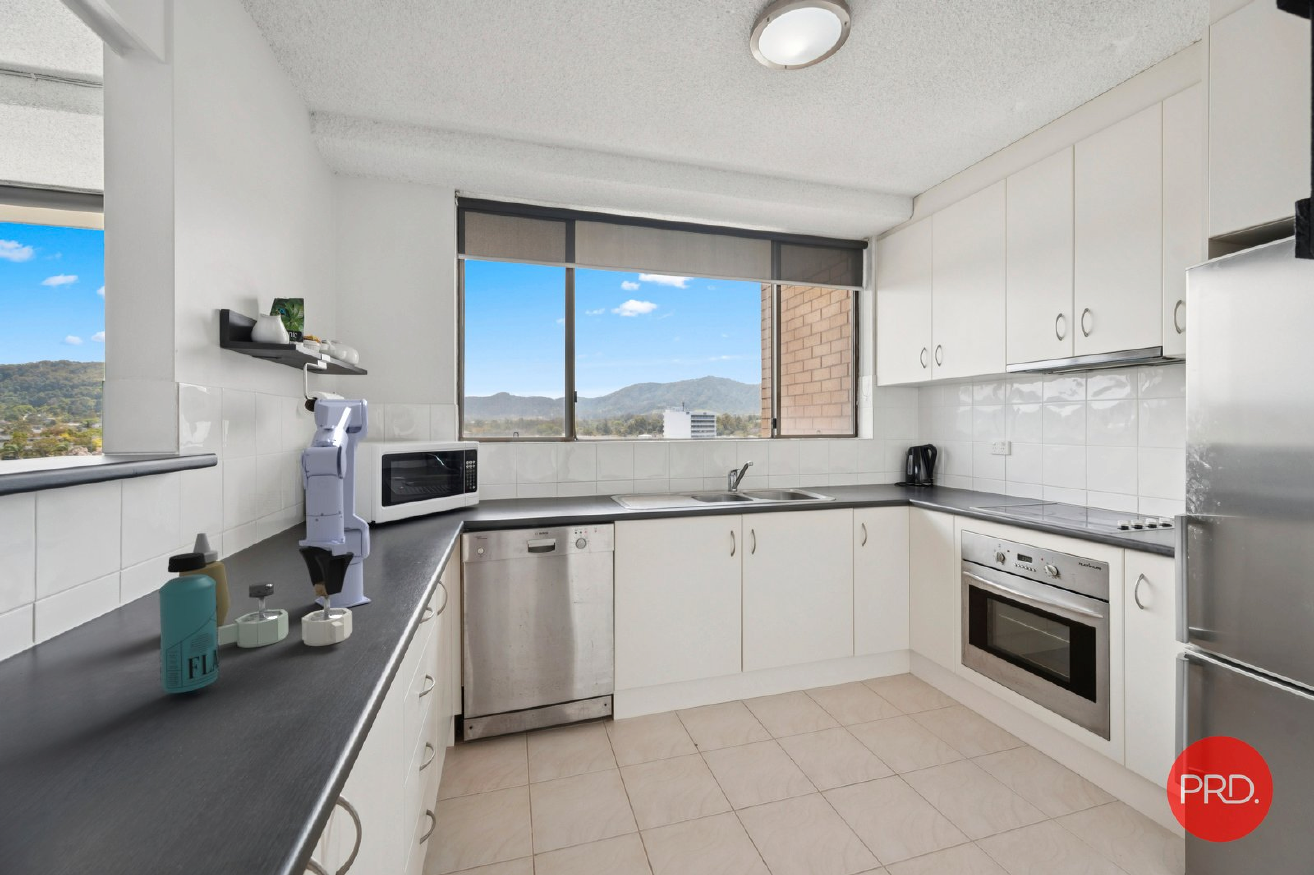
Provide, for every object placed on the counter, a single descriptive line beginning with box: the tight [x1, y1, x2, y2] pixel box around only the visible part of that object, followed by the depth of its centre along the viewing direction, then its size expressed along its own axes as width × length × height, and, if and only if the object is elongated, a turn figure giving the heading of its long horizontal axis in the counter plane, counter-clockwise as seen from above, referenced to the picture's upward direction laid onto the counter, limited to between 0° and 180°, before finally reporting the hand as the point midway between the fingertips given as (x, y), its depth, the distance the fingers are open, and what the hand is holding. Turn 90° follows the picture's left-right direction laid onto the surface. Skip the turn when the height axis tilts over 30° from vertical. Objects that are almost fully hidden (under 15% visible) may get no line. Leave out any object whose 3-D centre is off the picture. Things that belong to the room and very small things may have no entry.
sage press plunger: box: [245, 581, 279, 622], centre depth 98 cm, size 5×5×6 cm
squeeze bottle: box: [178, 532, 231, 629], centre depth 104 cm, size 8×8×18 cm
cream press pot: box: [301, 607, 353, 647], centre depth 98 cm, size 10×7×4 cm
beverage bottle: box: [158, 552, 220, 694], centre depth 79 cm, size 6×7×20 cm
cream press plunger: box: [311, 581, 343, 621], centre depth 99 cm, size 5×5×6 cm
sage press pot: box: [217, 608, 289, 649], centre depth 98 cm, size 10×7×4 cm
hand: (326, 589), depth 99 cm, fingers open, 7 cm apart
